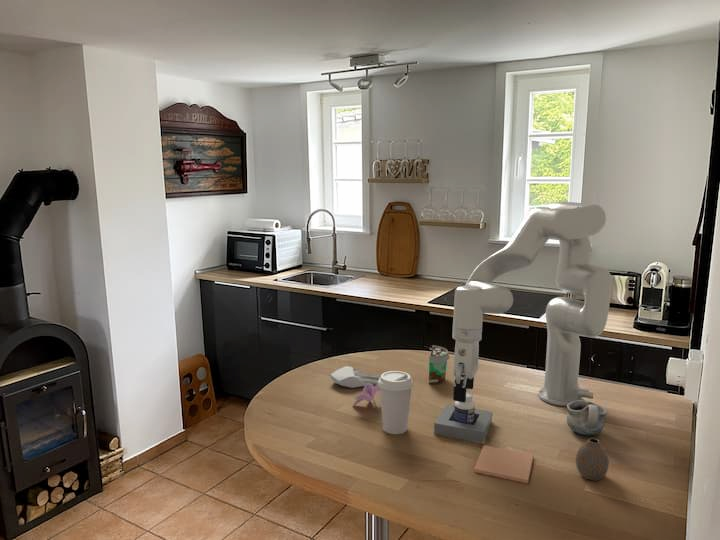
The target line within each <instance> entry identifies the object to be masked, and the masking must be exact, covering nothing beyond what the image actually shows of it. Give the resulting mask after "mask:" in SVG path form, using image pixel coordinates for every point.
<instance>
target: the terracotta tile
mask: <svg viewBox="0 0 720 540" xmlns="http://www.w3.org/2000/svg"><path fill="white" fill-rule="evenodd" d="M533 460H534V454H530V453H526V452H522V451H521V452H520V451H515V450H511V449H506V448H500V447H496V446H491V445H485V444H484V445H483V446H482V449H481V451H480V454H479V456H478V459H477V461H476V463H475V466H474V468H473V472H474V473H478V474H483V475H487V476H490V477H491V476H492V477H497V478H501V479H505V480H506V479H507V480H510V481H516V482H520V483H525V484H528V483H529V479H530V475H531V470H532V465H533Z"/></svg>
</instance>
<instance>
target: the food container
mask: <svg viewBox="0 0 720 540" xmlns="http://www.w3.org/2000/svg"><path fill="white" fill-rule="evenodd" d="M428 359H429V360H428V365H429V366H428V385H431V386H432V385H439V384H440V385H441V384H443V383H445V380H446V375H447V374H446V373H447V365H448V364H447V363H448V360H450V354H449V351H448V349H447V348H445V347H443V346H439V345H434V344H433V345H431V352H430V356H429V357H428Z"/></svg>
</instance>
